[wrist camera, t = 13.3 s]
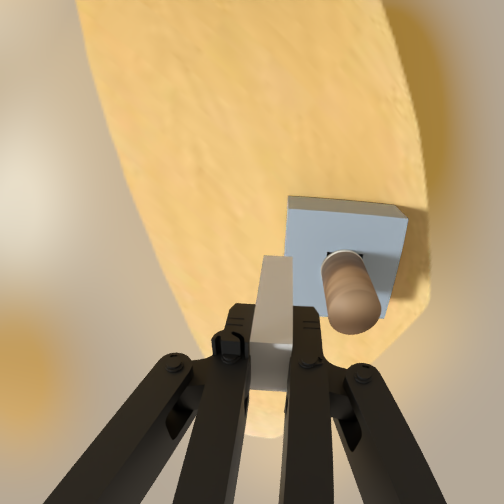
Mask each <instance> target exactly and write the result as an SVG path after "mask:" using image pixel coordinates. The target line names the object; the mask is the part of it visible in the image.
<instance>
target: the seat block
mask: <svg viewBox="0 0 504 504" xmlns="http://www.w3.org/2000/svg"><path fill="white" fill-rule="evenodd" d="M407 224H408V218H407V217H406V216H405V215H404V214H403V213H402V212H401V211H400V210H399V209H398V208H397V207H396V206H395V205H389V204H380V203H370V202H359V201H348V200H337V199H325V198H311V197H297V196H288V206H287V222H286V238H285V252H284V256H288V257H293V306H313V307H314V308H315V309H316V310H317V312H318V313H319V316H322V317H328V312H327V306H326V300H325V294H324V288H323V282H322V277H321V265H322V263H323V261H324V259H325V258H326V257H327V252H334V251H337V250H341V249H348V250H352V251H354V252H356V253H357V254H359V255H360V257H361V258H362V260H363V262H364V265H365V267H366V270H367V272H368V274H369V277H370V279H371V281H372V284H373V286H374V289H375V291H376V293H377V296H378V298H379V301H380V303H381V315H380V317H379V318H383V319H384V317H385V314H386V310H387V307H388V303H389V300H390V296H391V293H392V289H393V285H394V281H395V277H396V273H397V269H398V265H399V261H400V257H401V253H402V248H403V243H404V239H405V234H406V229H407Z"/></svg>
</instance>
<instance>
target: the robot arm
mask: <svg viewBox="0 0 504 504" xmlns="http://www.w3.org/2000/svg"><path fill="white" fill-rule="evenodd" d="M211 341H212V350H213V355H212V356H210V357H208V358H205V359H200V360H193V361H191V359H190V358H189V357H188V356H187V355H185V354H182V353H170V354H167V355H165V356H163V357H162V358H161V359H160V360H159V361H158V362H157V363H156V365H155V366H154V367H153V368H152V370H151V371H150V372H149V373H148V374H147V376H146V377H145V378H144V379H143V381H142V382H141V383H140V384H139V385H138V387H137V388H136V389H135V390H134V392H133V393H132V394H131V395H130V396H129V398H128V399H127V400H126V402H125V403H124V404H123V405H122V406H121V408H120V409H119V410H118V411H117V413H116V414H115V415H114V416H113V417H112V419H111V420H110V421H109V422H108V424H107V425H106V426H105V427H104V429H103V430H102V431H101V433H100V434H99V435H98V436H97V437H96V438H95V440H94V441H93V442H92V444H91V445H90V446H89V447H88V448H87V450H86V451H85V452H84V453H83V455H82V456H81V457H80V458H79V459H78V461H77V462H76V463H75V464H74V466H73V467H72V468H71V470H70V471H69V472H68V473H67V474H66V476H65V477H64V478H63V479H62V481H61V482H60V483H59V484H58V486H57V487H56V488H55V489H54V491H53V492H52V493H51V494H50V496H49V497H48V498H47V499H46V500H45V502H44V503H43V504H140V503H141V501H142V500H143V498H144V497H145V495H146V494H147V492H148V491H149V489H150V488H151V486H152V485H153V483H154V482H155V480H156V478H157V477H158V475H159V474H160V472H161V471H162V469H163V467H164V466H165V464H166V463H167V461H168V460H169V458H170V457H171V455H172V453H173V452H174V450H175V449H176V447H177V445H178V444H179V442H180V441H181V439H182V437H183V436H184V434H185V433H186V431H187V429H188V428H189V426H190V425H191V423H192V421H193V420H194V418H195V416H196V419H195V422H194V426H193V430H192V433H191V437H190V441H189V444H188V448H187V452H186V455H185V459H184V463H183V466H182V470H181V474H180V477H179V481H178V485H177V489H176V493H175V496H174V500H173V504H233V502H234V496H235V490H236V484H237V477H238V471H239V464H240V457H241V451H242V445H243V438H244V431H245V425H246V418H247V411H248V404H249V390H250V389H252V390H266V391H284V392H287V395H286V403H285V410H284V413H285V421H284V439H283V453H282V467H281V480H280V494H279V504H334V485H333V484H334V483H333V452H332V431H331V417H333V420H334V422H335V425H336V428H337V431H338V434H339V436H340V439H341V442H342V444H343V447H344V450H345V452H346V455H347V458H348V461H349V464H350V466H351V469H352V472H353V475H354V478H355V480H356V483H357V486H358V489H359V492H360V494H361V497H362V500H363V503H364V504H447V503H446V501H445V499H444V497H443V495H442V492H441V490H440V488H439V486H438V484H437V482H436V480H435V478H434V476H433V474H432V472H431V470H430V468H429V465H428V463H427V462H426V459H425V458H424V455H423V453H422V451H421V449H420V447H419V446H418V444H417V442H416V440H415V438H414V436H413V434H412V432H411V430H410V428H409V426H408V424H407V423H406V421H405V419H404V417H403V415H402V413H401V411H400V409H399V407H398V405H397V403H396V402H395V400H394V398H393V396H392V394H391V392H390V391H389V389H388V387H387V385H386V383H385V381H384V380H383V378H382V376H381V374H380V373H379V371H378V370H377V369H376V368H375V367H373V366H372V365H370V364H366V363H357V364H354V365H351V366H350V367H349V368H348V369H345V368H341V367H337V366H335V365H333V364H331V363H329V362H328V361H327V360H326V359H325V357H324V355H323V349H322V339H321V330H320V319H319V313H318V312H317V310H316V309H315V308H314V307H313V306H293V257H288V256H267V255H264V257H263V263H262V269H261V276H260V282H259V288H258V294H257V300H256V304H241V303H236V304H235V305H234V306H233V307H232V308H231V309H230V310H229V314H228V317H227V321H226V325H225V328H224V330H222V331H219V332H218V333H216V334H215V335H214V336H213V337H212V339H211Z"/></svg>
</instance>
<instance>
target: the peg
mask: <svg viewBox="0 0 504 504" xmlns="http://www.w3.org/2000/svg"><path fill="white" fill-rule="evenodd" d="M321 277H322V282H323V288H324V294H325V300H326V306H327V312H328V319H329V322H330V324H331V326H332V327H333V328H334V329H335V330H336V331H338V332H340V333H343V334H348V335H354V334H359V333H362V332H365V331H367V330H369V329H370V328H371V327H373V326H374V325H375V324H376V322H377V321H378V319H379V317H380V315H381V303H380V301H379V298H378V296H377V293H376V291H375V289H374V286H373V284H372V281H371V279H370V277H369V274H368V272H367V270H366V267H365V265H364V262H363V260H362V258H361V257H360V255H359V254H357V253H356V252H354V251H352V250H348V249H341V250H337V251H334V252H327V257H326V258H325V259H324V261H323V263H322V265H321Z"/></svg>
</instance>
